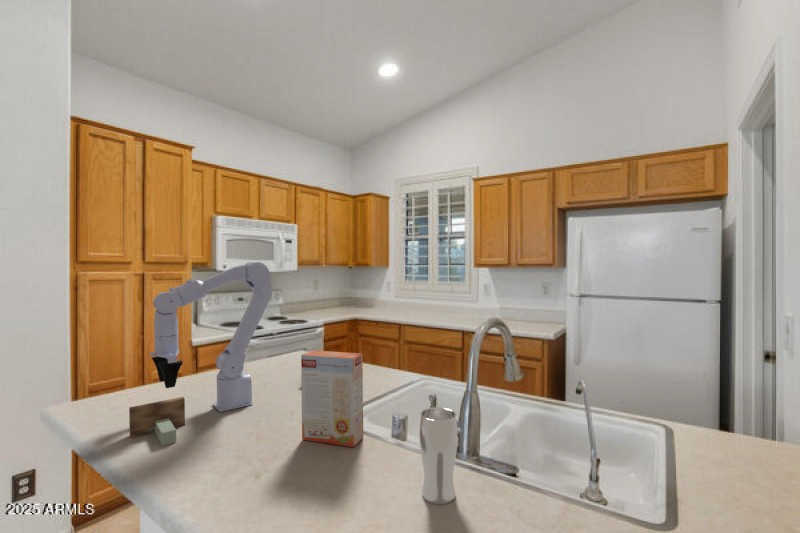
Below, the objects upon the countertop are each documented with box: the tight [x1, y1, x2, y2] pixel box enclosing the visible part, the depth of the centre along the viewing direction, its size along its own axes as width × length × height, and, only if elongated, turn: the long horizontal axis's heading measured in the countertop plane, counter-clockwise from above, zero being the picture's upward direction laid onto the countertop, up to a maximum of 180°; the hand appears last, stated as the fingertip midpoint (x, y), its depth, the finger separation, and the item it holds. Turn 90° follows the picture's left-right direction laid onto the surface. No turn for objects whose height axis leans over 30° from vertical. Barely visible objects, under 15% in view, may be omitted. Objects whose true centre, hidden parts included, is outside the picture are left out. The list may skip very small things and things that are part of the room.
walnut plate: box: [128, 396, 186, 439], centre depth 103 cm, size 12×2×7 cm, turn 130°
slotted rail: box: [151, 418, 177, 447], centre depth 103 cm, size 3×22×3 cm, turn 40°
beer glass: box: [418, 406, 458, 505], centre depth 73 cm, size 7×7×15 cm
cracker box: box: [300, 349, 364, 448], centre depth 97 cm, size 14×6×21 cm, turn 71°
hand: (167, 384), depth 111 cm, fingers open, 7 cm apart
